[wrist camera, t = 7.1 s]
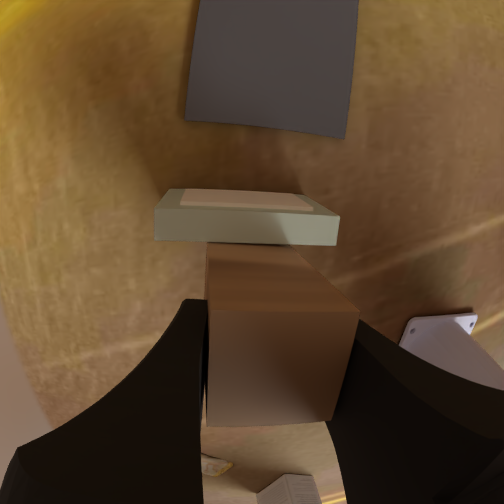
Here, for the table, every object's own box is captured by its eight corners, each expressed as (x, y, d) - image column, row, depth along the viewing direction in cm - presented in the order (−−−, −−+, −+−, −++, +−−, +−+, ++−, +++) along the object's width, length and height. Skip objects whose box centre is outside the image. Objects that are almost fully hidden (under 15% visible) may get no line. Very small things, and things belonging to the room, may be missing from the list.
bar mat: (340, 138, 16) (344, 139, 15) (185, 120, 15) (184, 120, 14) (356, -22, 12) (359, -25, 12) (210, -50, 11) (210, -54, 10)
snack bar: (235, 464, 26) (218, 482, 26) (230, 455, 27) (214, 473, 27) (147, 432, 22) (130, 453, 22) (145, 421, 24) (129, 442, 23)
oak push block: (276, 313, 14) (330, 420, 7) (203, 310, 14) (206, 426, 7) (285, 242, 13) (360, 311, 7) (207, 237, 13) (210, 309, 6)
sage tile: (301, 216, 17) (335, 245, 13) (169, 211, 16) (154, 240, 12) (304, 191, 17) (340, 212, 12) (169, 185, 16) (154, 204, 11)
